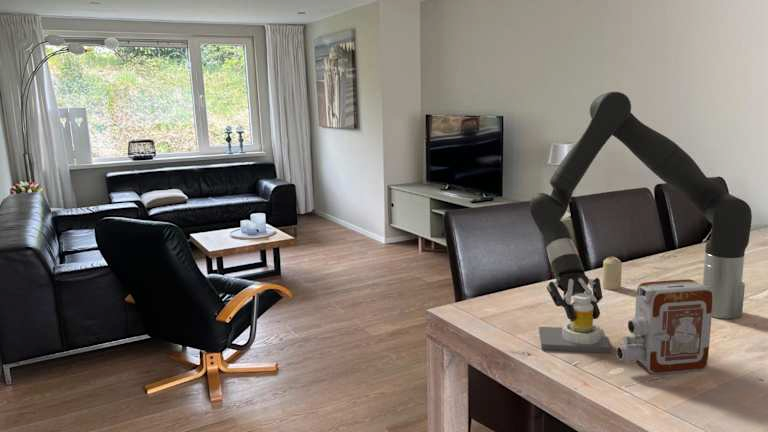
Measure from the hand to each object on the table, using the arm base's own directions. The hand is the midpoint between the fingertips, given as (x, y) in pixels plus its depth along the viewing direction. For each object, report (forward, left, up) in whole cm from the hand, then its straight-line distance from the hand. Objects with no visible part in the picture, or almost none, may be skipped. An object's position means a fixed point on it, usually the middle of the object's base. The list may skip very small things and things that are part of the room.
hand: (585, 318), depth 140 cm
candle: (-14, -46, -7) cm, 48 cm away
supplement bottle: (+1, -2, -4) cm, 5 cm away
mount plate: (+3, -2, -7) cm, 8 cm away
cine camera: (-15, +10, -7) cm, 19 cm away
